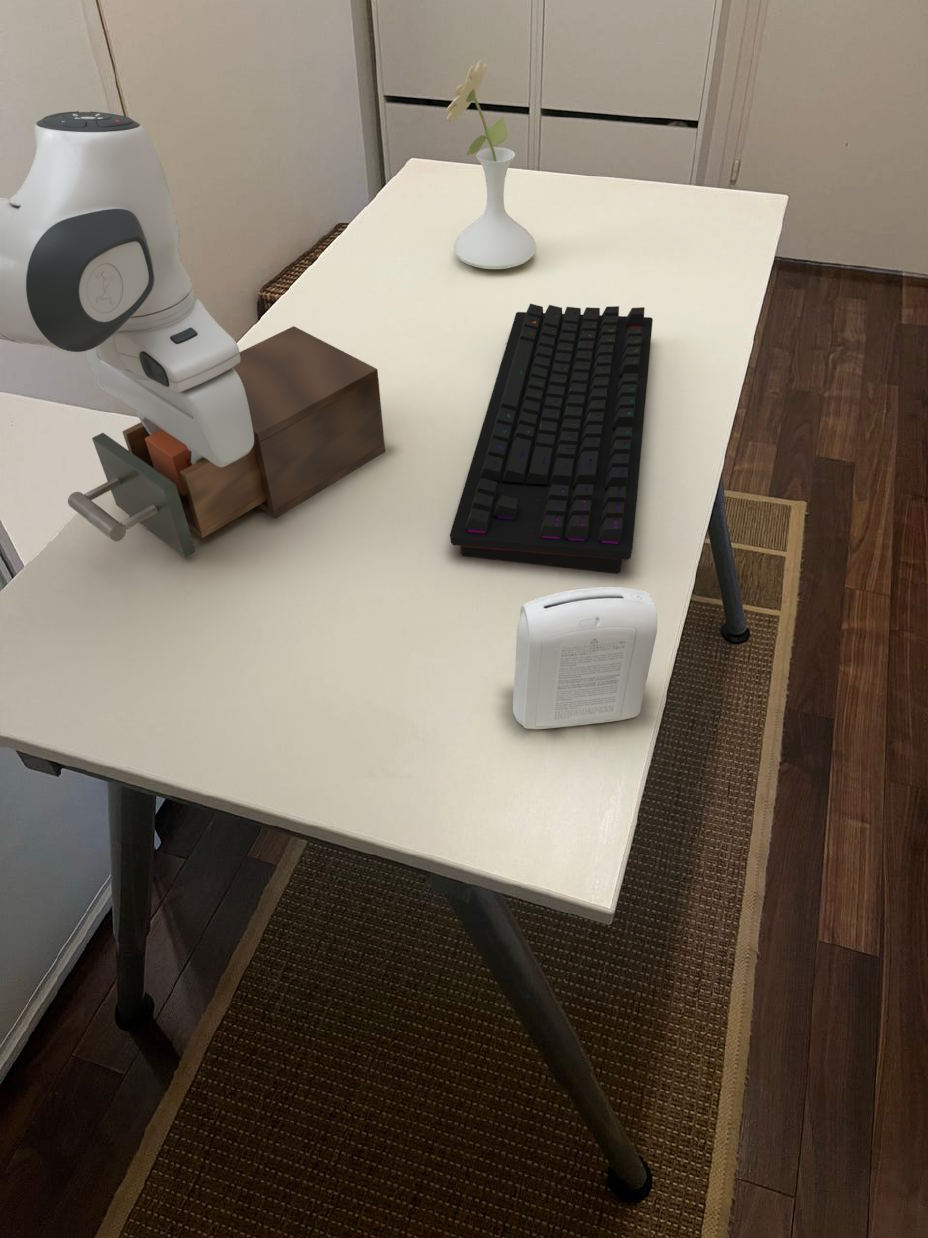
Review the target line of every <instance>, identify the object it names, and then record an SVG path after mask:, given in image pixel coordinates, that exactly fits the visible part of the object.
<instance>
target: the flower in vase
mask: <svg viewBox="0 0 928 1238" xmlns="http://www.w3.org/2000/svg"><path fill="white" fill-rule="evenodd" d="M486 71H487V64H486V63H485V62H482V59H479V60H478V62H477V64H476V66H474V64H472V65H471V66H470V67H469V70H468V72H467V75H466V77H465V80H464V84H459V85H458V86H457V87H456V89H455V91H454V92H455V95H456V96H457V97H455V98H454V99H453V100H452V101H451V103H450V104H449V105H448V106H447V108H446V113H448V115H447V116H446V121H449V123H454V122H456V121H458V120H459V118H460V117H461V116H462V115H463V114H464V113H465V112H466V110H467V108H469V106H470V105H471V104H472V102H474V104H475V107H476V108H477V111H478V113H479V116H480V119H481V122H482V125H483V128H484V132H485V134H481V135H479V136H478V137H476V138H475V139H474V140H473V141H472V142H471V144H470V146H468V150H467V151H466V156H469V155H474V154H475V156H476V158H477V160H478V162H479V163H480V165H481V167H482V169H483V170H482V171H483V172H484V177H485V184H486V185H485V186H486V205H485V209H484V212H483V214H482V215H481V216H480V217H478V218H477V219H475V221H473V222H472V223H471V224H470V225H468V226H467V227H466V228H464V229H463V230H462V231H461V232H460V234H458V236H456V239H455V241H454V244H453V252H454V253H455V255H456V257H457V258H458V259H459V260H460V261H461V262H462V263H465V264H466V265H469V266H471V267H475V268H479V269H484V270H505V269H510V268H514V267H519V266H521V265H523V264H524V263H525V264H526V263H527V262H528V261H529V260H530V259H531V258H532V257H533V256H534V255H535V254H536V251H537V244H536V241H535V238H534V237H533V236H532V234H531V233H530V232H529V231H528V230H527V229H526V228H525V227H524V226H522V225H521V224H520V223H518V222H517V221H516V220H514V219H513V218H512V217H511V216H510V215H509V214H508V212H507V211H506V208H505V201H504V200H505V197H504V196H505V183H506V177H507V173H508V170H509V167H510V164H511V163H512V161H513V160H514V159H515V157H516V153H515V152H514V151H513V150H512V149H509V148H507V147H499V146H498V145H500V144H503V142H505V141H506V139H507V137H508V132H507V126H506V123H505V119H504V116H501V117H500V118H499V119H498V120H497V121H496V122H494V123H493V124H492V125H491V126H490V127H489V128H488V126H487V122H486V118H485V116H484V114H483V111H482V109H481V106H480V104H479V101H478V99H477V93H478V91H479V89H480V88H481V84H482V82H483V79H484V76H485V74H486ZM486 140H487V142H488V145H489V147H486V148H482V146H483V145H484V143H485V142H486ZM497 146H498V147H497Z"/></svg>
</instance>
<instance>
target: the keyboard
mask: <svg viewBox="0 0 928 1238" xmlns="http://www.w3.org/2000/svg"><path fill="white" fill-rule="evenodd" d="M645 309H646V307H644V306H642V307H641V306H640V307H631V309H630V311H629V312H628V314H627V316H626V315H620V306H619V305H617V306H616V305H615V306H606V307H605V309H604V310H603V312H602V314H601V308H600V307H590V306H589V307H585V309H584V311H583V314H582V308H581V307H574V306H566V308H565V311H564V313H563V307H560V306H556V305H553V304H548V306H547V308H546V311H545V312H544V307H543V306H542V305H538V304H535V303H534V304H533V303H529V305H528V307H527V310H526V311H517V312H515V314H514V315H515V316H514V317H513V318H514V319H513V322H512V326H511V328H510V332H509V335H508V339H507V342H506V345H505V348H504V352H503V356H502V359H501V362H500V365H499V369H498V372H497V376H496V379H495V382H494V385H493V388H492V392H491V396H490V399H489V402H488V404H487V405H488V406H487V409H486V412H485V416H484V419H483V422H482V426H481V430H480V432H479V435H478V439H477V443H476V445H475V449H474V452H473V455H472V459H471V461H470V462H471V463H470V466H469V469H468V473H467V475H466V480H465V482H464V486H463V489H462V493H461V496H460V499H459V502H458V506H457V509H456V514H455V516H454V519H453V522H452V526H451V528H450V533H449V539H450V543H451V545H452V546H459V547H460V555H461V556H462V557H468V558H477V559H487V560H495V561H502V562H503V561H504V562H512V563H513V562H514V563H522V564H528V565H529V564H531V565H537V566H538V565H539V566H548V567H556V568H566V569H573V570H582V571H589V572H601V573H610V574H620V573H621V569H622V563H623V560H624V561H629V560H630V559H632V553H633V549H634V548H633V546H634V536H635V525H636V514H637V501H638V491H639V480H640V467H641V457H642V445H643V434H644V422H645V411H646V399H647V388H648V380H649V379H648V378H649V366H650V355H651V345H652V344H651V343H652V333H653V321H654V318H653V317H650V316H645Z"/></svg>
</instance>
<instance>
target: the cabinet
mask: <svg viewBox="0 0 928 1238" xmlns="http://www.w3.org/2000/svg"><path fill="white" fill-rule="evenodd" d="M239 352H240V358H241V361H240V363H239V364H237V365H236V366H234V367H233V368H234V370H235V371H236V372H237V374H238V375H239V377H240V379H241V381H242V383H243V386H244V389H245V393H246V396H247V401H248V405H249V410H250V415H251V421H252V427H253V433H254V443H255V448H256V453H257V457H258V462H259V467H260V471H261V476H262V481H263V485H264V490H265V495H266V499H267V500H266V501H265V502H263V503H261V504H259V505H258V506H257V507H258V508H259V509H261V511H264V512H265V513H267V514H268V515H269V516H271V517H273V518H274V519H277V518H278V517H280V516H282V515H283V514H286V513H287V512H288V511H290V510H291V509H293V508H295V507H296V506H298V505H299V504H302V503H303V502H305V501H307V500H308V499H309V498H311V497H313V496H315V495H316V494H318V493H320V492H321V491H323V490H324V489H326V488H327V487H330V486H331V485H332V484H335V483H336V482H338V481H339V480H341V479H343V478H344V477H345V476H347V475H349V474H351V473H353V472H354V471H355V470H357V469H359V468H361V467H362V466H364V465H365V464H367V463H368V462H371V461H372V460H374V459H375V458H377V457H378V456H380V455H382V454H384V453H385V452H386V448H385V447H386V446H385V434H384V423H383V413H382V403H381V402H382V401H381V391H380V390H381V389H380V380H379V371H378V369H377V368H376V367H375V366H373V365H370V364H368V363H367V362H365V361H362V360H361V359H359V358H357V357H355V356H353V355H351V354H350V353H348V352H345V351H343V350H341V349H339V348H338V347H336V346H334V345H332V344H329V343H327V342H326V341H324V340H322V339H320V338H318V337H316V336H314V335H312V334H310V333H308V332H306V331H304V330H302V329H300V328H298V327H297V326H295V325H292V326H290V327H289V328H287V329H284V330H283V331H281V332H278V333H277V334H275V335H272V336H270V337H268V338H266V339H264V340H262V341H260V342H258V343H255V344H253V345H252V346H250V347H246V348H245V349H243V350H241V351H239Z"/></svg>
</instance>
